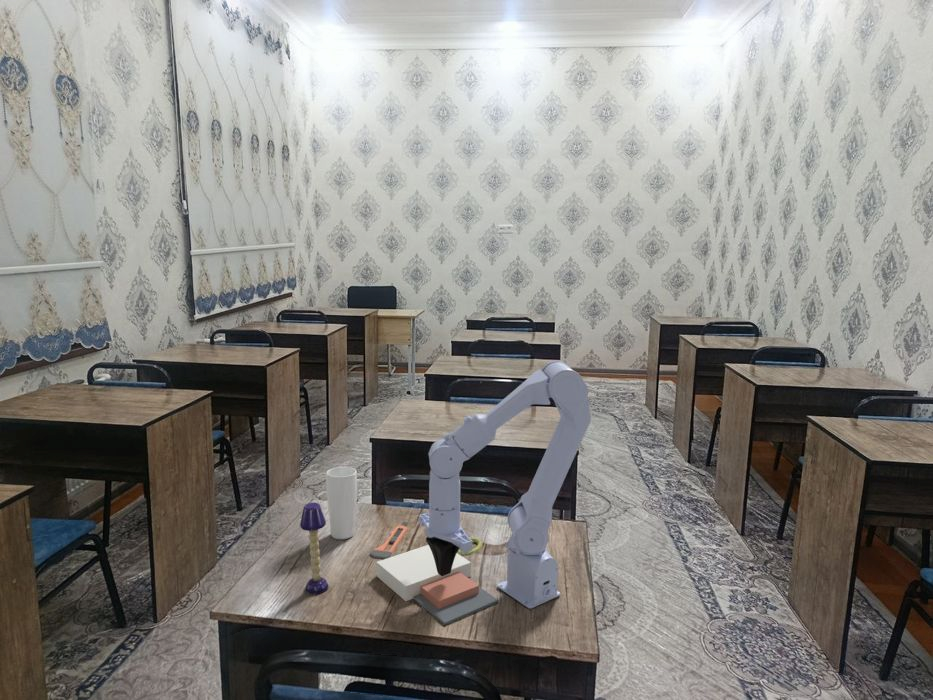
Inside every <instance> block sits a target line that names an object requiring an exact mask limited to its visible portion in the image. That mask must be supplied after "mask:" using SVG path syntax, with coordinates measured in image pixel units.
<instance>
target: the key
mask: <svg viewBox="0 0 933 700" xmlns="http://www.w3.org/2000/svg"><path fill="white" fill-rule="evenodd" d="M468 538H469V539H471V540H472V543H474V542H476V543H475V544H477V546H476V547H474V548H472V551H470V552H466V553H462V552H461V549H459V550H458V552H457V553H458V554H459V555H461V556H467V555H472V554H475V553H477V552H478V551H480V550H481V549H482V548H483V544H482V543H483V542H482V541H481V540H480V539H479V538H477V537H468Z"/></svg>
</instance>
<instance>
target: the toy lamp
mask: <svg viewBox="0 0 933 700" xmlns="http://www.w3.org/2000/svg"><path fill="white" fill-rule="evenodd" d="M300 518H301V519H300V524H299V525H300V528H301V529H302V530H303V531H307V532H308V534H309V536H308V539H309V548H310V550H309V555H310V563H311V578H310V579H308V581H307V582H306V584H305V591H306V593H308V594H310V595H319V594H322V593H323V594H324V593H325V592H326V591H327V590H328V589H329V583H328V581H327V580H326V579H325V578H324V577H322V572H321V569H322V567H321V564H320V563H321V558H320V548H319V547H320V542H319V538H320V537H319V534H318V533H319V530H320V529H322V528H324V527H325V526H326V525H327V524H326V522H327V520H326V518H325V514H324V512H323V509H322V507H321V504H320V503H319V502H308V503H306V504H305V505H304V506H303V509H302V513H301V517H300Z"/></svg>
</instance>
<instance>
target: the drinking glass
mask: <svg viewBox="0 0 933 700" xmlns="http://www.w3.org/2000/svg"><path fill="white" fill-rule="evenodd" d="M325 474H326V475H325V489H326V501H327V509H328V515H329V516H328V517H329V528H330V529H329V530H330V536H331V538H333V539H335V540H347V539H350V538H352V537H353V536H354V535H355V531H356V526H355V525H356V511H357V497H358V474H357V469H356V468H354V467H351V466H336V467H332V468H330V469H328V470H327V471H326V472H325Z"/></svg>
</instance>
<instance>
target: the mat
mask: <svg viewBox="0 0 933 700" xmlns="http://www.w3.org/2000/svg"><path fill="white" fill-rule="evenodd" d="M412 600H413V601H415V602H416V603H417V604H418V605H420V607H422V609H425V610H426V611H427V612H428V613H429V614H431V616H433V617H434V619H436V620H437V621H438V622H440V623H441V624H442V625H443V626H446V625H449V624H451V623H453V622H456V621H458V620H460V619H463V618H465V617H468V616H470V615H472V614H475V613H477V612H480V611H482V610H484V609H486V608H489V607H491V606H493V605H495V604H497V603H499V599H497V598H496V597H495V596H493V595H492V594H491V593H489V592H488V591H486V590H485V589H483V588H482V587H480V586H479V593H478V594H475V595H473V596H470V597H467V598H465V599H462V600H460V601H457V602H455V603H452V604H450V605H447V606H445V607H442V608H440V609H438V608H437V607H436V606H435V605H434V604H432V603H431V602H430V601H429V600H428V599H426V598H425V597H424V596H423V595H422V594H419V595H417V596H414V597H413V599H412Z"/></svg>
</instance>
